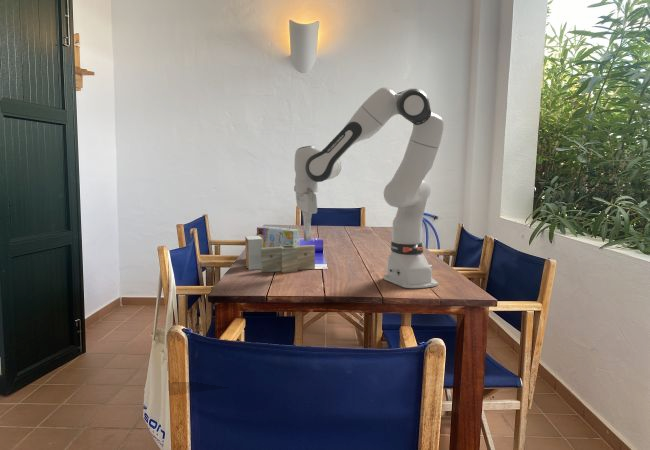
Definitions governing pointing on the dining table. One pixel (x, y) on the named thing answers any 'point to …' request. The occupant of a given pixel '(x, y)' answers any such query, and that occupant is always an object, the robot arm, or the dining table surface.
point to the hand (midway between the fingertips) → (307, 222)
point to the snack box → (278, 236)
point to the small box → (253, 252)
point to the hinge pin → (306, 229)
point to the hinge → (287, 258)
